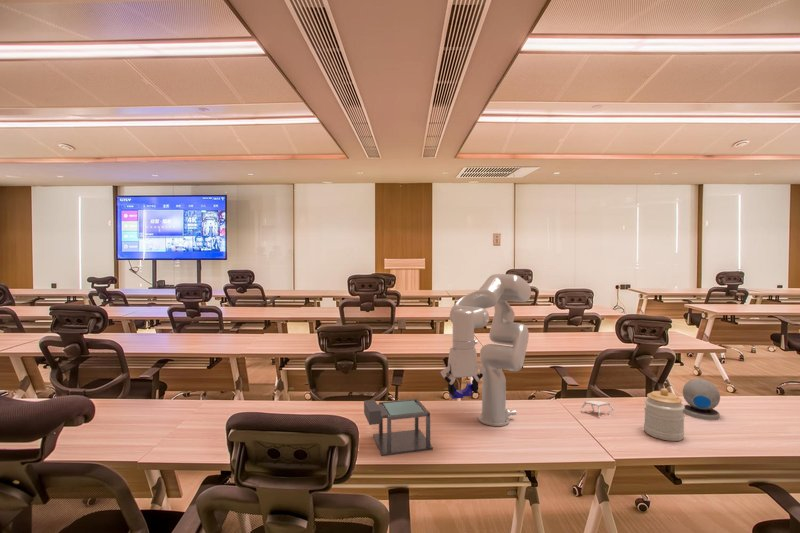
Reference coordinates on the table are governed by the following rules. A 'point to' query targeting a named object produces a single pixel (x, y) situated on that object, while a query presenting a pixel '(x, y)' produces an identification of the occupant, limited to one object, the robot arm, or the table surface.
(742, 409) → the table surface
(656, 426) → the jar
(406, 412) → the trapdoor
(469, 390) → the cable holder
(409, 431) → the stand
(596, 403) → the white legged frame
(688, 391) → the webcam
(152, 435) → the table surface
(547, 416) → the table surface
